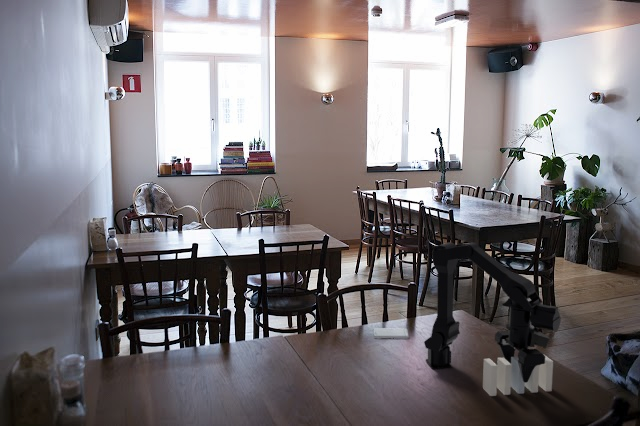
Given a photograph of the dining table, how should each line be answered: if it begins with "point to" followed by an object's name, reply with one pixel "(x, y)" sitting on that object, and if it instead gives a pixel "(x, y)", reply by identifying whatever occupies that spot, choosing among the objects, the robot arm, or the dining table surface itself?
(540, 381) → the domino
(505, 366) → the domino
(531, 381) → the domino
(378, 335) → the hard drive
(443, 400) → the dining table surface
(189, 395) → the dining table surface
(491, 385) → the domino
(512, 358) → the domino
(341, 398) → the dining table surface
